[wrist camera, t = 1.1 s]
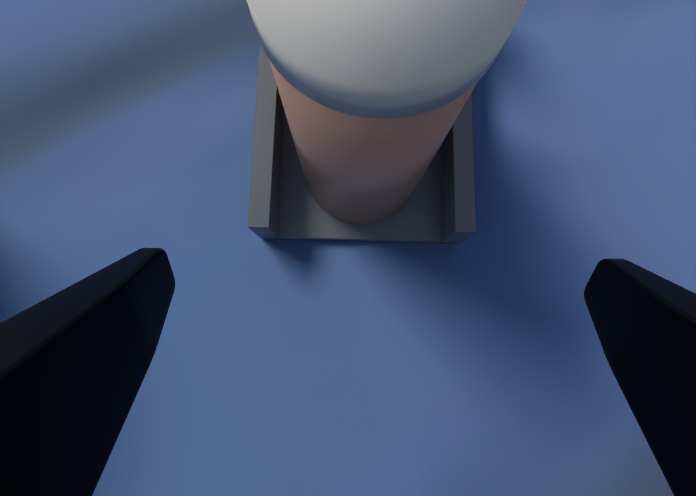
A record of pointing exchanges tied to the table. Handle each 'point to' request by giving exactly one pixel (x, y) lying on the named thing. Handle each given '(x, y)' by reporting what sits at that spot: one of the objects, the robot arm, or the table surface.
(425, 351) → the table surface
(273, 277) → the table surface
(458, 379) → the table surface
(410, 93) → the jar
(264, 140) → the lane
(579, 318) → the table surface
